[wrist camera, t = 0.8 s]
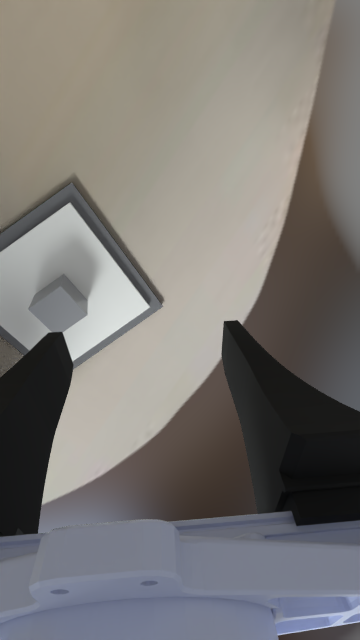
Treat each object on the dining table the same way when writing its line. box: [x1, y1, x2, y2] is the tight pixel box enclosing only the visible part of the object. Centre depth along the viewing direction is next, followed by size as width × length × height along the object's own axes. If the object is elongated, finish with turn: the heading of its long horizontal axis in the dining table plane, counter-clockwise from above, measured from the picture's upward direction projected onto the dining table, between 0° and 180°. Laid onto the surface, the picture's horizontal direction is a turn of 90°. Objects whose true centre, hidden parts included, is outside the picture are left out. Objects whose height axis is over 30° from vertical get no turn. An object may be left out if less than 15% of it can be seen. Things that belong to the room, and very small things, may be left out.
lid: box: [0, 202, 150, 362], centre depth 25 cm, size 11×11×4 cm
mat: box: [0, 183, 163, 369], centre depth 26 cm, size 13×13×1 cm
